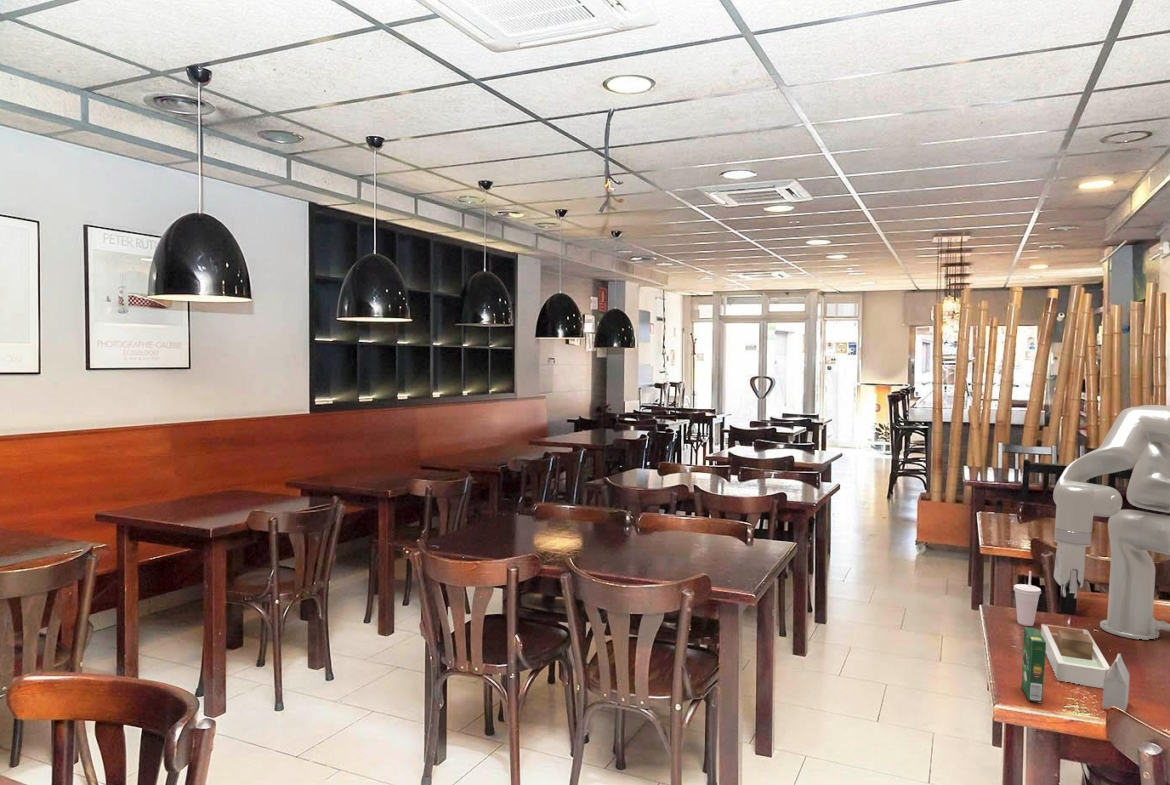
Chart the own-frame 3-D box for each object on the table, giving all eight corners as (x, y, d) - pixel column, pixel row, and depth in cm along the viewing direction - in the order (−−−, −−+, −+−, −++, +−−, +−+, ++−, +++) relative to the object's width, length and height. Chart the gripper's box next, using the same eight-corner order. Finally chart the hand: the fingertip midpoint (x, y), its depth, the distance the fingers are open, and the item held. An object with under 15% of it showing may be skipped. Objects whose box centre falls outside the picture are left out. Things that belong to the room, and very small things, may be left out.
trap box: (1086, 646, 193) (1087, 629, 192) (1111, 689, 167) (1112, 671, 167) (1040, 639, 196) (1041, 623, 196) (1057, 681, 171) (1058, 663, 171)
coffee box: (1043, 704, 159) (1047, 641, 158) (1027, 702, 160) (1030, 639, 159) (1035, 689, 166) (1038, 628, 166) (1020, 686, 167) (1023, 626, 167)
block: (1087, 651, 182) (1087, 634, 182) (1092, 660, 177) (1093, 642, 176) (1057, 646, 185) (1058, 630, 184) (1061, 655, 179) (1062, 638, 179)
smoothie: (1044, 628, 205) (1047, 575, 204) (1019, 627, 205) (1022, 574, 204) (1031, 619, 211) (1033, 568, 211) (1007, 619, 212) (1009, 567, 211)
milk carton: (1128, 703, 160) (1130, 655, 160) (1124, 714, 155) (1127, 665, 155) (1106, 698, 163) (1109, 650, 162) (1102, 709, 158) (1105, 660, 157)
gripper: (1050, 530, 196) (1044, 602, 196) (1059, 541, 182) (1053, 619, 183) (1085, 533, 193) (1079, 607, 193) (1097, 545, 179) (1091, 625, 180)
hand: (1067, 613), depth 188 cm, fingers closed
